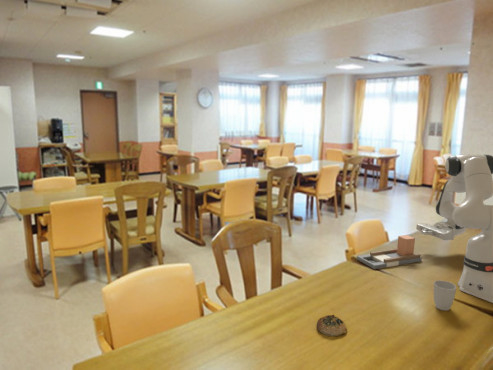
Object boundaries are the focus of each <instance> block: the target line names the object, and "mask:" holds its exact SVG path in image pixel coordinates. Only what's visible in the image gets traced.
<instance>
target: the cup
mask: <svg viewBox="0 0 493 370" xmlns="http://www.w3.org/2000/svg"><path fill="white" fill-rule="evenodd" d="M456 291H457V285H456V284H455V283H453V282H450V281H447V280H435V281H434V282H433V301H434V305H435V308H436V309H438V310H439V311H440V310H441V311H445V312H446V311H449V310H450V309H451V308H452V305H453V302H454V300H455V296H456V293H457V292H456Z"/></svg>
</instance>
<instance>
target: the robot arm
mask: <svg viewBox="0 0 493 370" xmlns="http://www.w3.org/2000/svg"><path fill="white" fill-rule="evenodd" d="M444 168H445V169H444V170H445V171H446V172H445V173H446V174H447V175H449V176H451V177H450V178H448V179H447V181H446V182H445V183H444V185H443V187H442V190H441V194H440V196H439V200H438V201H437V203H436V206H435V213H436V214H437V215H439V216H441V217H443V218H444V219H445V220H446V221H441V222H435V223H434V225H433V224H430V223H425V222H424V223H416V230H417V231H419V232H421V234H423V235H425V236H427V235H429V236H432V237H434V238H437V239H440V240H442V241H453V240H454V239H455V236H456V237H457V236H459V235H462V234H464V233H465V232H466V231H467V229H468V230H469V229H471V230H481V231H480V232H479V233H478V234H475V235H473V236H472V237H471V236H470V238H468V240H467V242H466V249H465V255H464V256H463V257H464V258H463V262H462V263H463V269H462V273H461V276H460V278H459V280H458V282H457V286H458V287H459V290H460V291H461V292H464V293H466V294H469V295H471V296H474V297H476V298H479V299H482V300H484V301H487V302H489V303H492V304H493V205H492V204H491V205H490V204H485V203H484V201H487V200H489V199H491V198H492V197H493V155H490V154H470V153H469V154H460V155H451V156H448V157H447V158H446V160H445V163H444ZM454 193H458V194H463V193H465V196H464V200H463V201H462V202H461V204H458V205H457V204H455V203H453V202H452V200H451V198H452V196H453V194H454Z"/></svg>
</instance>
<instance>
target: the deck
mask: <svg viewBox="0 0 493 370" xmlns="http://www.w3.org/2000/svg"><path fill="white" fill-rule="evenodd" d="M356 260H357V261H359V262H360V263H362V264H364V265H365V266H367V267H369V268H371V269H373V270H377V269H383V268H389V267H395V266H402V265H407V264H413V263H418V262H422V260H423V259H422V257H421V254H420V253H419V252H418V253H414V254H412V255H406V256H402V255H400V254H398V253H397V247H396V248H391V249H384V250H378V251H370V252H369V254H360V255H357V256H356Z"/></svg>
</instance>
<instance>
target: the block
mask: <svg viewBox="0 0 493 370" xmlns="http://www.w3.org/2000/svg"><path fill="white" fill-rule="evenodd" d="M415 243H416V237H413V236H412V235H411V236H410V235H408V234H405V235H398V237H397V245H396V248H397V253H398V254H400V255H402V256H406V255H412V254H415V253H414V252H415Z"/></svg>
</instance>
